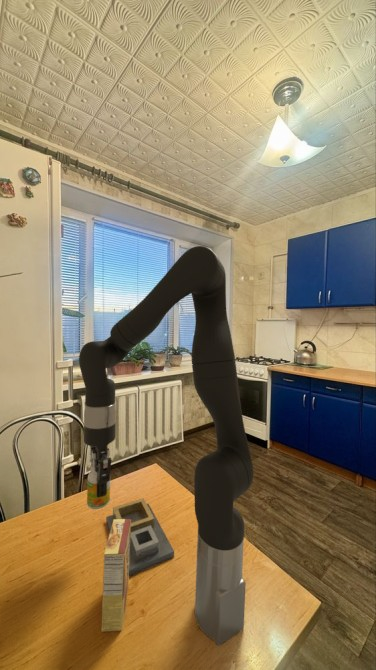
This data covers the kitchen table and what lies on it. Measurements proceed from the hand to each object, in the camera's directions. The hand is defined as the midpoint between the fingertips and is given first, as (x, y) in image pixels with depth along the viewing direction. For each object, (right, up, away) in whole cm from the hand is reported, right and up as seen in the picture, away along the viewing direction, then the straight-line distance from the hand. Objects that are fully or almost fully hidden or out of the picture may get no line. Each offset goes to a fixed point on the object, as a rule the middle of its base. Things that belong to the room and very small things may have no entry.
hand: (98, 488), depth 63 cm
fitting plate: (+8, -17, +6) cm, 20 cm away
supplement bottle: (0, -4, 0) cm, 4 cm away
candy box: (+7, -18, -11) cm, 22 cm away
